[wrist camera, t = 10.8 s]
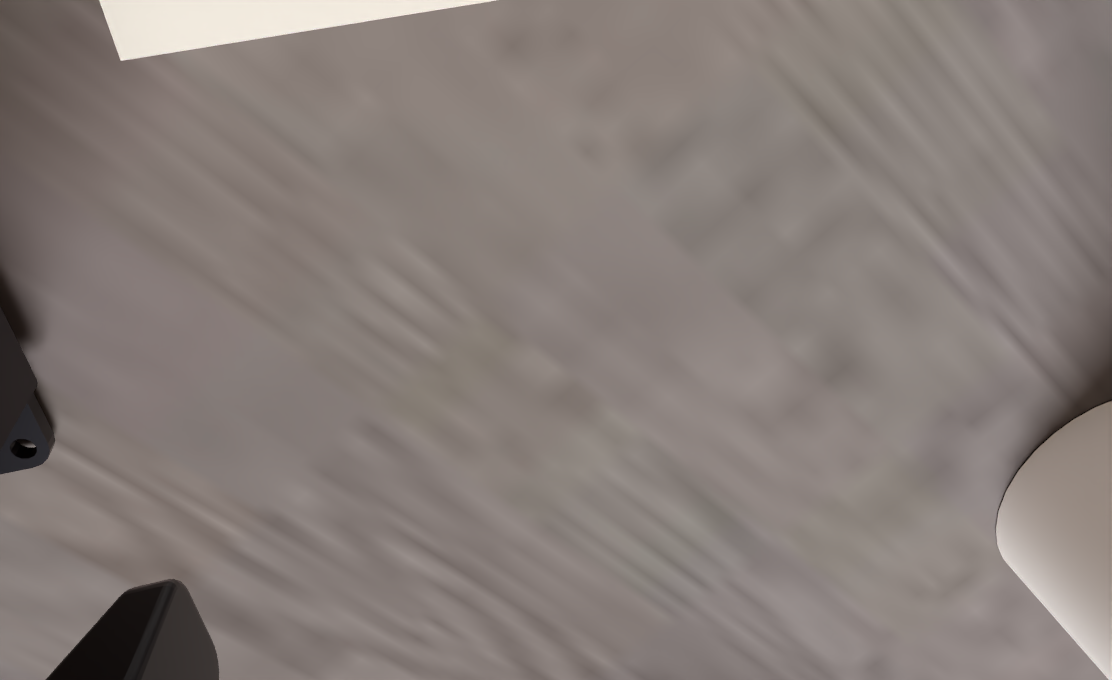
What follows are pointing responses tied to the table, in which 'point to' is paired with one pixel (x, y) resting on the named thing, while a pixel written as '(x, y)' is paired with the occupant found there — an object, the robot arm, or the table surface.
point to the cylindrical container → (1067, 530)
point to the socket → (239, 20)
